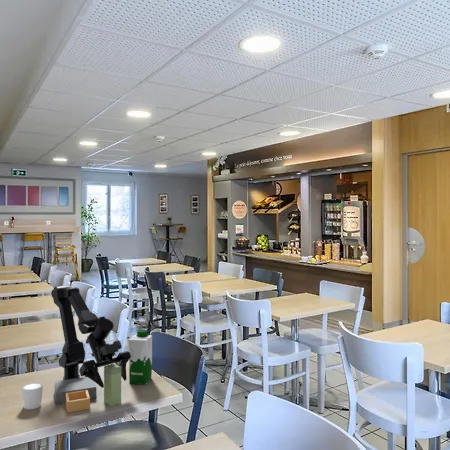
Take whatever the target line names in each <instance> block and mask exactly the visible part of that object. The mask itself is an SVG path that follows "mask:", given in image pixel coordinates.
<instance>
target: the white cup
mask: <svg viewBox="0 0 450 450" xmlns="http://www.w3.org/2000/svg"><path fill="white" fill-rule="evenodd" d="M43 388H44V384H43V383H42V382H32V383H27V384H25V385H22V387H21V392H22V393H21V394H22V402H23V408H24V409H25V410H34V409H38V408H40V407H41V406H42V400H43V399H42V398H43Z"/></svg>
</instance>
